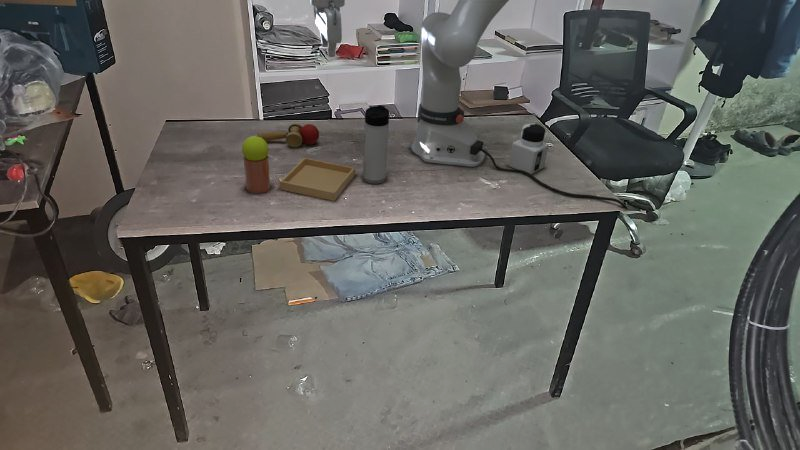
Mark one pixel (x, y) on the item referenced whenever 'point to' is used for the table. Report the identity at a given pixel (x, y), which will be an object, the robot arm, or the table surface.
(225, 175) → the table surface
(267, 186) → the cup
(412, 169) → the table surface
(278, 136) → the kendama
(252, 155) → the tennis ball
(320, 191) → the tray
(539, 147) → the container
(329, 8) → the robot arm
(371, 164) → the travel mug
